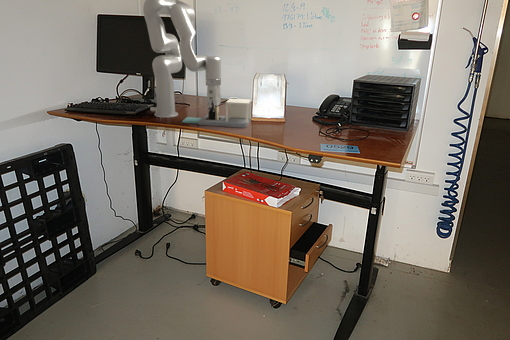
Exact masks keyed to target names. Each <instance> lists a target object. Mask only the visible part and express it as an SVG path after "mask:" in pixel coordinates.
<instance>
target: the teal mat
mask: <svg viewBox="0 0 510 340" xmlns="http://www.w3.org/2000/svg"><path fill="white" fill-rule="evenodd" d="M202 118H203V117H191V116H186V118H184V119H183V120H182V121H181V124H182V123H185V124H198V125H199V120H200V119H202Z"/></svg>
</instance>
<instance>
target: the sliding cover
mask: <svg viewBox="0 0 510 340" xmlns="http://www.w3.org/2000/svg"><path fill="white" fill-rule="evenodd" d="M251 115H252V99H250V98H249V99H248V98H247V99H246V98H229V99H227V101H225V116H226V122H228V116H230V118H246V123H248V119H250V120H251V119H252V118H251V117H252V116H251Z"/></svg>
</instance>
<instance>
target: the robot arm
mask: <svg viewBox="0 0 510 340" xmlns="http://www.w3.org/2000/svg"><path fill="white" fill-rule="evenodd" d="M142 8H143V9H142V11H143V15H144V20H145V23H146V27H147V32H148V36H149V42H150V46H151V50H152V51H153V52H155V53H158V54H160V53H161V54H163V53H165V55H164V54H163V55H158V56H156V57H155V58H153V61H152V64H151V65H152V72H153V74H154V80H155V93H156V94H155V95H156V106H155V107H154V106H150V109H149V110H150V111H151V112H154V117H156V118H163V119H165V118H175V117H177V116H179V113H178V112H177V111H176V107H175V106H176V104H175V103H176V102H175V83H174V79H173V76H172V74H175V73H179V72H180V71H181V70H182V67H183V65H184V66H185V67H186V69H187V70H188V71H190V72H193V73H196V72H202V71H205V86H206V87H207V88H206V90H207V91H206V93H207V94H206V95H207V96H206V103H207V106H208V107H209V119H212V120H215V112H214V111H215V106H219V105H220V104H221V103H222V102H221V101H222V99H221V96H222V95H221V85H222V73H221V72H222V66H221V65H222V60H221V57H219V56H216V55H215V56H212V55H210V56H209V55H207V54H206V55H205V54H200V55H199V54H197V55H195V52H194V50H193V47H192V40H193V38H195V36H196V35H197V32H196V29H195V27H194V24H193V23H192V22H193V21H194V20H195V17H196V13H195V10H194V8H193V7H192V6H191V5H190V4H188V3H186V2H183V1H181V0H144V2H143V7H142ZM160 15H169V17H170V19H171V21H172V24H173V26H174V28H175V30H176V32H177V35H178V37H179V41H178V38H177V36H175V35H174V34H171V33H167V32H166V28H165V24H164V21H163V19H162V18H161V16H160ZM183 63H184V64H183Z"/></svg>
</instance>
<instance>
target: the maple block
mask: <svg viewBox="0 0 510 340" xmlns="http://www.w3.org/2000/svg"><path fill="white" fill-rule="evenodd" d="M214 112H215V120H218V121H219V116H220V106H219V105H218V106H215V111H214ZM207 115H208V120H212V119H209V106H208V109H207Z"/></svg>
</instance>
